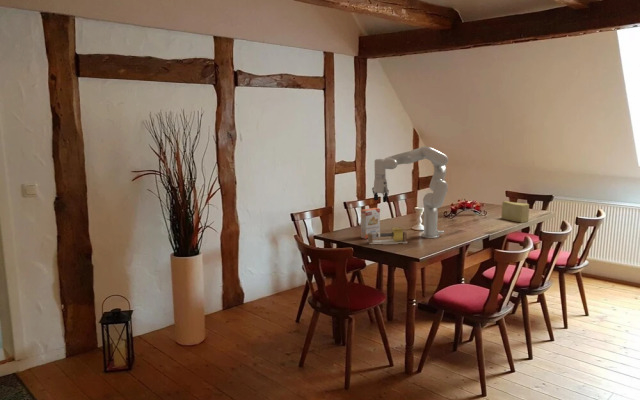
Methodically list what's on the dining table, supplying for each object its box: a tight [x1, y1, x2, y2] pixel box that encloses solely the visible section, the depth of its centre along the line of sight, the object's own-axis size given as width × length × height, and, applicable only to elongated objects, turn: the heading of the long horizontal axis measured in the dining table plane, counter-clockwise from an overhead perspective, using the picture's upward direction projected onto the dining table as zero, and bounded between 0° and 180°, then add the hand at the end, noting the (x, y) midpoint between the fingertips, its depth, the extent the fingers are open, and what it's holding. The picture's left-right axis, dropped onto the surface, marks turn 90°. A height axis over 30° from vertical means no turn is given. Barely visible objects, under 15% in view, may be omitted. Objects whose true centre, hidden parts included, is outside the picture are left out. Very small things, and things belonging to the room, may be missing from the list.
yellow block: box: [391, 226, 404, 241], centre depth 336 cm, size 6×7×8 cm
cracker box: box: [360, 207, 381, 240], centre depth 351 cm, size 14×6×21 cm, turn 126°
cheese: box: [501, 200, 530, 224], centre depth 399 cm, size 22×10×15 cm, turn 33°
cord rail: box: [367, 231, 408, 245], centre depth 335 cm, size 26×9×8 cm, turn 96°
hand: (380, 201), depth 340 cm, fingers open, 9 cm apart
